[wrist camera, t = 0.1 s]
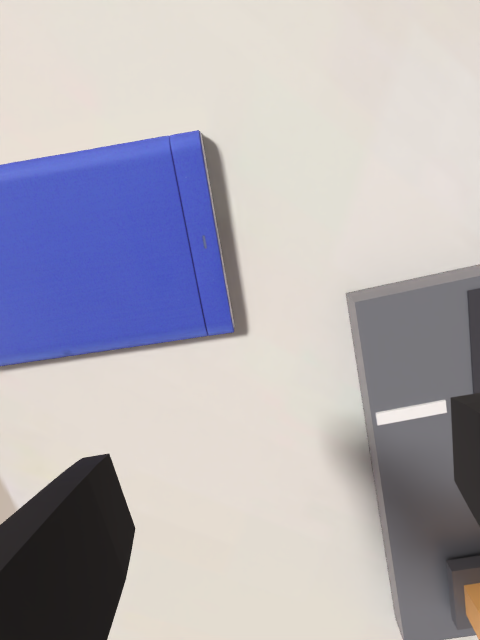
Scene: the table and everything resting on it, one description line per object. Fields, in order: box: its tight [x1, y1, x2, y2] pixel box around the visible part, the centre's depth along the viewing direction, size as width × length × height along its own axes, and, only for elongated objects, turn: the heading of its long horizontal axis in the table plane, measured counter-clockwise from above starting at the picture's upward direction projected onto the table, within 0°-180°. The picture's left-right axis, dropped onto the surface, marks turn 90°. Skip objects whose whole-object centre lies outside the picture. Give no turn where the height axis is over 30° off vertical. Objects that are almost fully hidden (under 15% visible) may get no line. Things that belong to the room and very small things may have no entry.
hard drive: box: [0, 130, 235, 366], centre depth 17 cm, size 2×8×12 cm
